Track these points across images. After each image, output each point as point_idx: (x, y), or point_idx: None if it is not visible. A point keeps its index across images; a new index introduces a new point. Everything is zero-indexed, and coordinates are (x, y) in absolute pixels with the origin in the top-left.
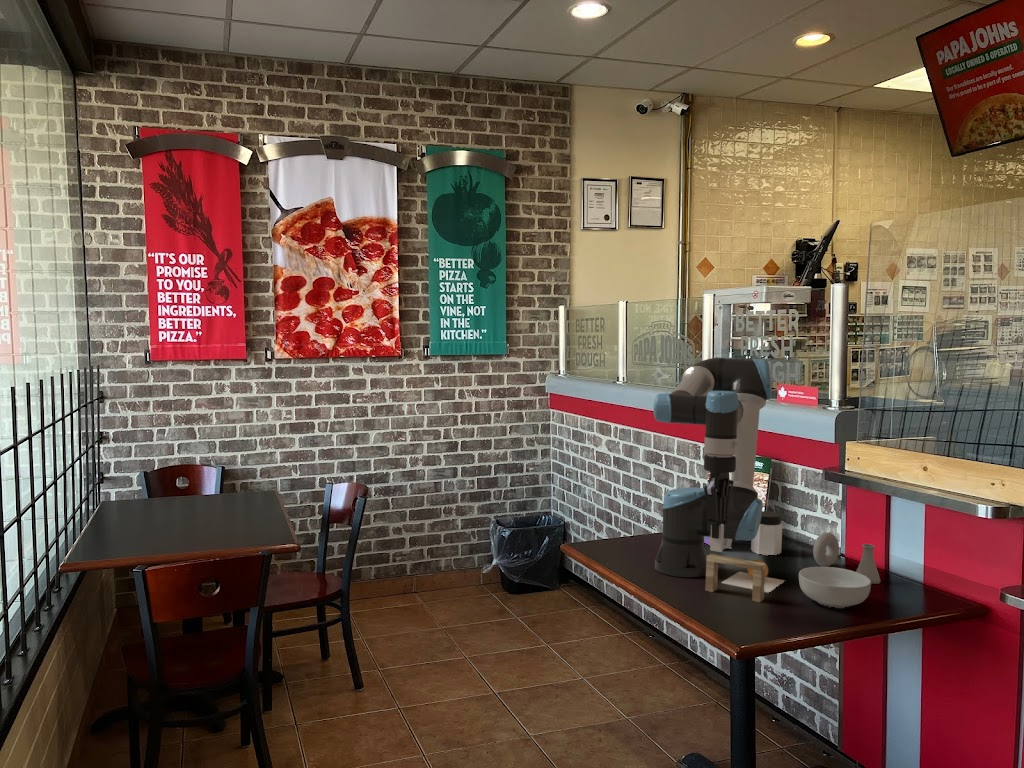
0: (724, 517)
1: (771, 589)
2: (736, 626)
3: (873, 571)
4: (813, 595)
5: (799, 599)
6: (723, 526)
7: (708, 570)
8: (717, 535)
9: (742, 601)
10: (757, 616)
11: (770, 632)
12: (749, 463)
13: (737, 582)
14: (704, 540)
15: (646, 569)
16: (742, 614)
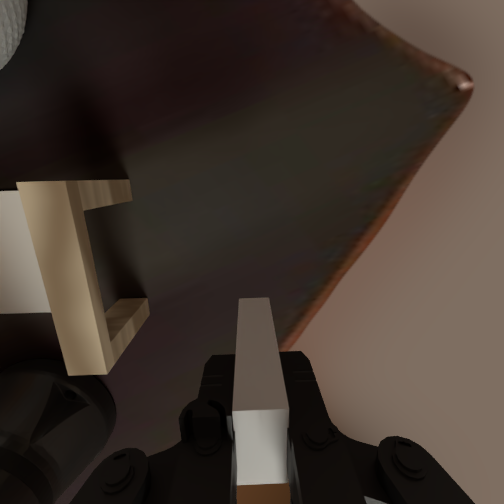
0: (203, 490)
1: (8, 193)
2: (340, 154)
3: None
4: (24, 10)
5: (15, 98)
6: (244, 398)
7: (126, 338)
8: (301, 365)
9: (156, 217)
10: (237, 141)
11: (332, 63)
12: None
13: (32, 283)
14: None
15: None
16: (248, 177)
